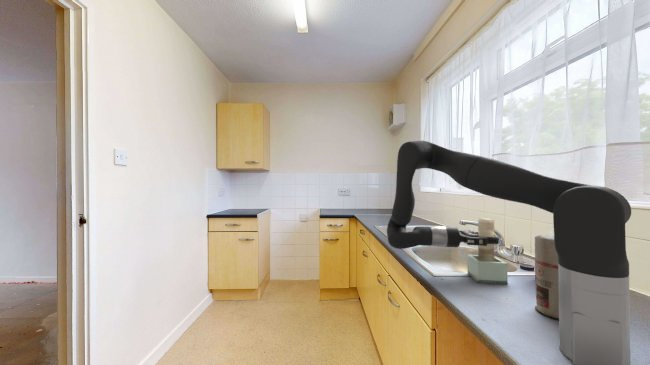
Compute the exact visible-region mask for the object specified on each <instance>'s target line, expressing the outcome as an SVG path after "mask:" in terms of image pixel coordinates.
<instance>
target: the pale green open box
mask: <svg viewBox="0 0 650 365" xmlns="http://www.w3.org/2000/svg"><path fill="white" fill-rule="evenodd" d="M468 273H469V274H470V275H469V274H468ZM467 274H468V275H469V276H470V277H471V278H472V279H473V280H475V281H476V282H477V283H479V284H494V285H495V284H497V285H498V284H499V285H508V284H509V283H508V279H509V278H508V263H507V262H506V261H504V260H502V259H500V258H498V257H497V256H495V255H494V262H483V261H479V260H478V254H467Z"/></svg>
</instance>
